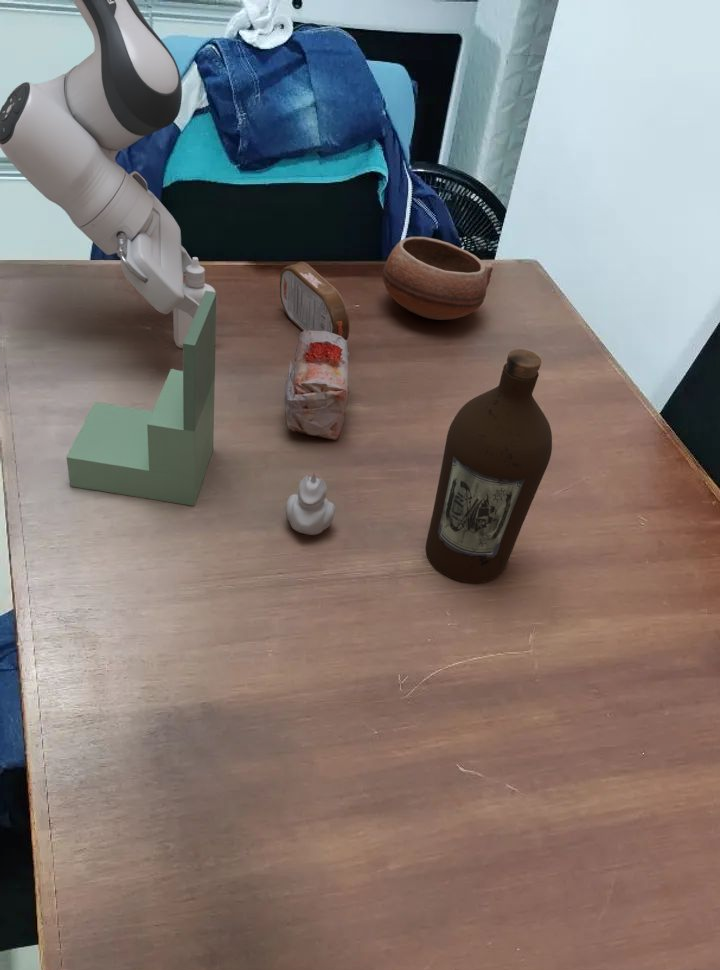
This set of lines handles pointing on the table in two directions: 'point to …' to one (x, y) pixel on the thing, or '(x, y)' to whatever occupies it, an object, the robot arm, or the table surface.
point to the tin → (312, 301)
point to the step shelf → (156, 429)
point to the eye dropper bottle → (195, 290)
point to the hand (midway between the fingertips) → (199, 296)
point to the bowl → (436, 278)
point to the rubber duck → (310, 507)
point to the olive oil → (490, 475)
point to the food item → (318, 385)
